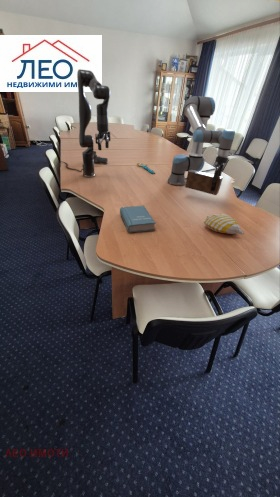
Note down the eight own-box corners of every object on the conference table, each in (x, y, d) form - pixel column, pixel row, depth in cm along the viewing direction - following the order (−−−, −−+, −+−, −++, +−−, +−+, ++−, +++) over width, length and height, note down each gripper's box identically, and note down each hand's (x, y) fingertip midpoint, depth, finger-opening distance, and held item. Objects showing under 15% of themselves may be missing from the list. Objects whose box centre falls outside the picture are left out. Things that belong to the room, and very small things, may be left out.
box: (184, 187, 168) (188, 171, 161) (187, 185, 172) (190, 169, 165) (216, 195, 159) (220, 178, 151) (218, 192, 163) (223, 176, 156)
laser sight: (105, 165, 227) (104, 155, 221) (84, 162, 230) (83, 152, 224) (108, 162, 235) (108, 152, 229) (88, 160, 238) (87, 150, 232)
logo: (136, 163, 238) (136, 163, 238) (145, 163, 241) (145, 162, 240) (146, 174, 213) (146, 173, 212) (155, 173, 215) (155, 172, 215)
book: (154, 230, 131) (155, 222, 128) (128, 232, 126) (128, 225, 124) (143, 212, 148) (143, 205, 145) (119, 214, 144) (120, 207, 141)
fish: (254, 225, 128) (232, 232, 118) (249, 236, 132) (228, 244, 123) (221, 208, 144) (199, 213, 134) (217, 218, 149) (196, 224, 139)
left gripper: (104, 121, 152) (105, 146, 162) (91, 123, 142) (92, 150, 152) (113, 122, 150) (113, 148, 159) (100, 124, 139) (101, 151, 149)
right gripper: (224, 159, 139) (215, 194, 152) (231, 154, 152) (222, 186, 166) (213, 157, 141) (204, 192, 155) (220, 152, 155) (212, 184, 169)
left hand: (103, 149), depth 155 cm, fingers open, 8 cm apart
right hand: (213, 189), depth 160 cm, fingers closed on box, 6 cm apart
